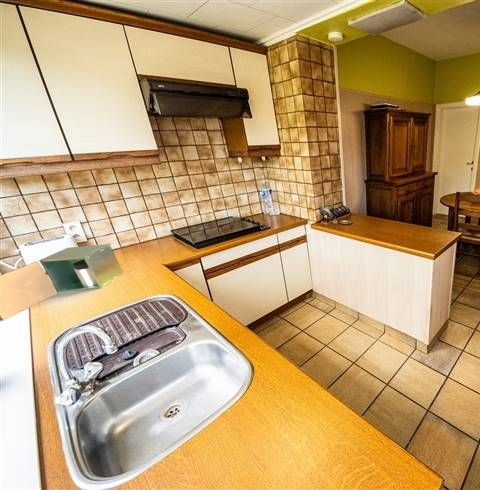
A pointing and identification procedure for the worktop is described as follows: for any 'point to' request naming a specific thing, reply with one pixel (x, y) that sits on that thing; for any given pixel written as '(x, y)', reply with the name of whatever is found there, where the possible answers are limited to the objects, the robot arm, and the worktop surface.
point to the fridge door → (23, 289)
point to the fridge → (96, 259)
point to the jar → (84, 273)
